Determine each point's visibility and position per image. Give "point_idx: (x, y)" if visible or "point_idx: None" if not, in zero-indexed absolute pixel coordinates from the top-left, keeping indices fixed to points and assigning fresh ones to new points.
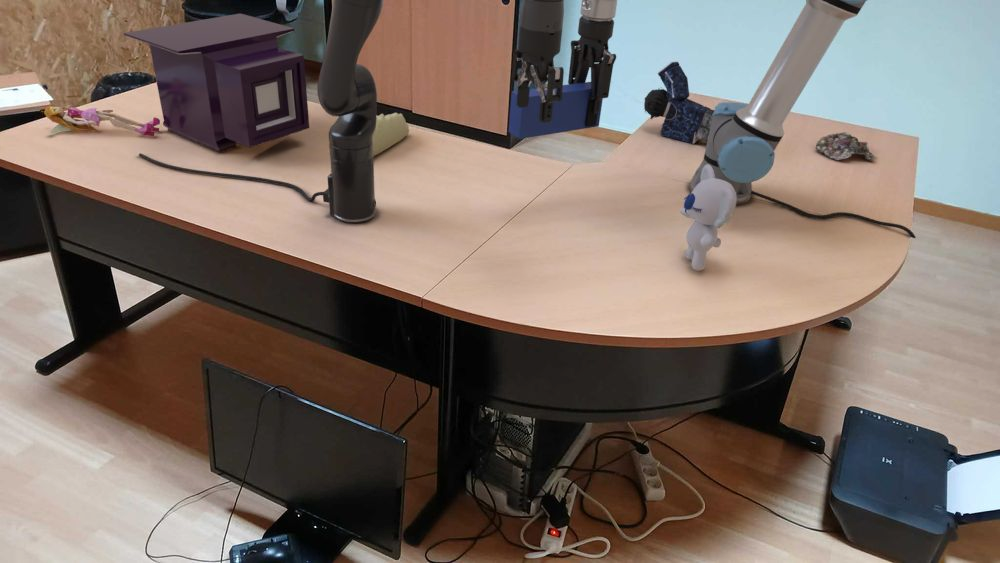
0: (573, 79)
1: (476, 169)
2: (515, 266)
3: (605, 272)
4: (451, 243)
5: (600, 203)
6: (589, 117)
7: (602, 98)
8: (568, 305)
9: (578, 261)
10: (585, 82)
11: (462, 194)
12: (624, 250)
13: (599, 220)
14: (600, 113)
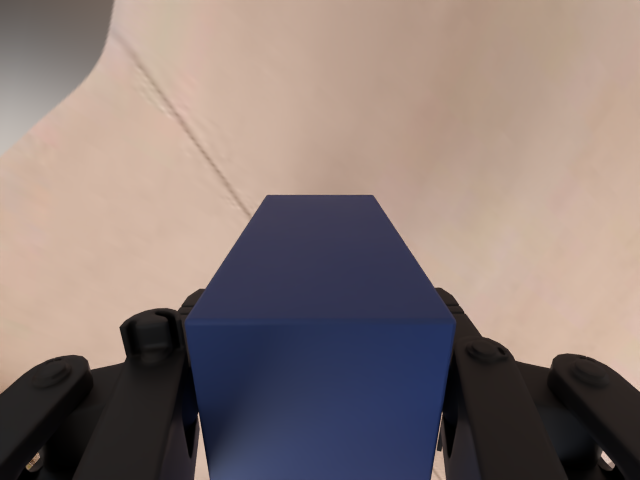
0: (56, 454)
1: (95, 298)
2: None
3: (600, 312)
4: None
5: (374, 131)
6: None
7: (414, 261)
8: None
9: (541, 330)
10: (208, 420)
11: None
12: (573, 231)
13: (443, 194)
14: (386, 216)
